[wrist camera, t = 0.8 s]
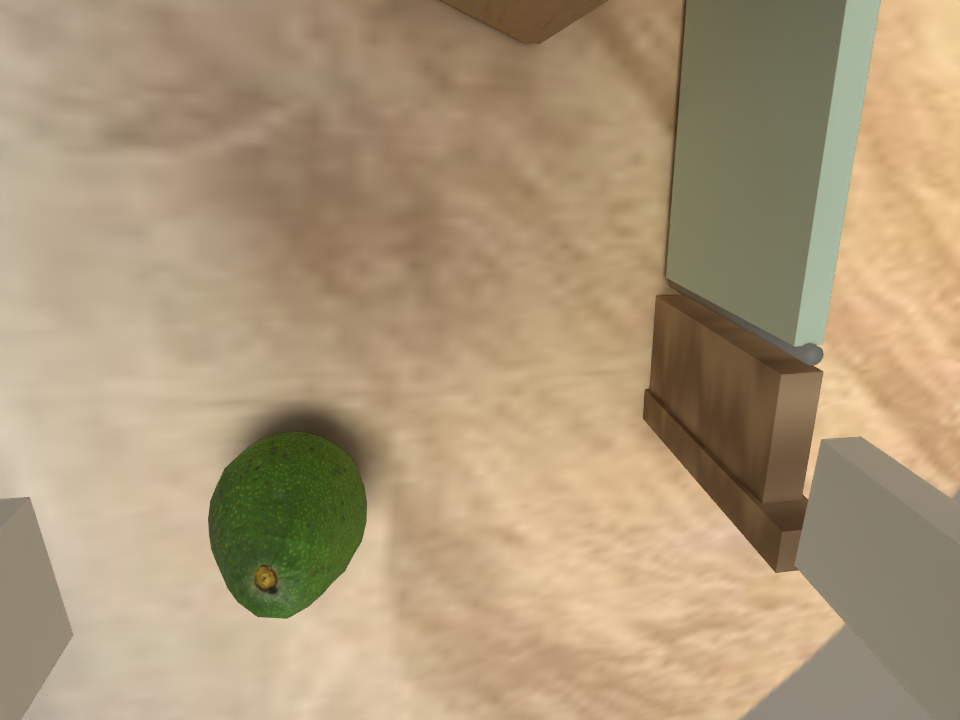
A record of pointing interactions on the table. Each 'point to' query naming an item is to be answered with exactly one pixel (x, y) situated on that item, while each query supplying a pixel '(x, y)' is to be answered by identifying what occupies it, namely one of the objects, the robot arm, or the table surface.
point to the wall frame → (735, 420)
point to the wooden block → (527, 15)
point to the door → (767, 160)
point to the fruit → (286, 521)
